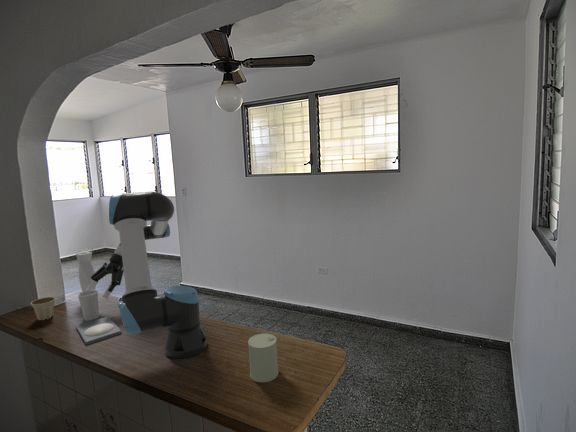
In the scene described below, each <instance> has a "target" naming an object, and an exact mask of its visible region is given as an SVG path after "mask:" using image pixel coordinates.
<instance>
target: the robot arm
mask: <svg viewBox="0 0 576 432" xmlns="http://www.w3.org/2000/svg"><path fill="white" fill-rule="evenodd" d="M174 213H175V207H174V203H173V201H172V200H171V199H170V198H169V197H167V195H164V194H163V193H161V192H158V191H157V192H156V191H142V192H128V193H124V192H122V193H117V194H112V195H111V196H110V198H109V203H108V222H109V225H112V226H113V228H114V230H116V231H118V234H119V235H118V236H119V244H118V246H117V247H116V249H115V250H114V251H113V252H114V253H113V254H112V255H111V256H110V257H109V263H107V262H103V263H104V264H103V265H102V266H101V267H100V268H99V269H98V270H97V271H96V272H95V274H93V275H92V276H91V279H92V281H91V283H90V284H89V286H88V288H87V289H86V291H88V290H93V289H94V288H95V286H97V285H98V283H99V281H100V280H101V279H103V278H104V277H106V276H107V275H111V282H110V283H109V284H108V285H107V287H106V289H105V290H104V292H103V293H102V294H101V297H102V298H104V299H106V300H107V299H109V297H110V295H111V294H112V292H113V291H114V289H115V288H116V287H118V286H120V285H121V283H122V280H123V279H122V278H123V276H124V287H125V292H124V293H123V295H122V296H121V300H122V301H120V302H118V304H117V306H118V310H119V313H120V316H121V321H122V324H123V328H124V332H125V333H126V334H127V335H129V336H131V335H135V334H143V333H145V332H149V331H154V330H158V329H162V328H166V327H167V328H168V329H167V336H166V339H165V342H164V352H165V355H166V356H168V357H170V358H173V359H186V358H187V359H188V358H190V357H193V356H196V355H198V354H200V353H202V352H203V351H204V350H205V349H206V348H207V345H208V340H207V336H206V334H205V332H204V329H203V327H202V325H201V315H200V314H201V313H200V305H199V304H200V300H199V296H198V291H197V289H196V288H194V287H191V286H187V285H173V286H169V287H166V288H165V289H164V290H163V293H161V294H158V291H157V289H156V288H155V287H153V286H152V279H151V272H150V267H149V259H148V252H147V244H146V241H147V240H155V239H164V238H168V237H170V236H171V230H170V229H171V228H170V224H169V221H170V220H171V219H172V217H173V215H174ZM148 221H150V224H147V222H148ZM95 289H96V288H95Z"/></svg>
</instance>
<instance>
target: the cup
mask: <svg viewBox="0 0 576 432" xmlns="http://www.w3.org/2000/svg"><path fill="white" fill-rule="evenodd" d="M98 291H99V290H98V289H95V290H88V291H84V292H82V291H81V292H79V293H78V294H77V296H78V300H79V305H80V308H81V312H82V318H83V320H84V321H94V320H97V318H98V319H99V317H100V310H99V292H98Z"/></svg>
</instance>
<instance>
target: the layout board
mask: <svg viewBox="0 0 576 432" xmlns="http://www.w3.org/2000/svg"><path fill="white" fill-rule="evenodd" d="M75 328H76V331H77V332H78V334H79V336H80V337H81V338H82V340H83V342H84V344H85V345H86V346H87V345H91V344H93V343H94V344H95V343H96V342H100V341H102V340H105V339H108V338H111V337H115V336H118V335H121V334H122V330H121V328H119V327H118V325H117V324H116V323H115V322H114V321H113V320H112V319H111V318H110V316H109V315H108V316H105V317H102V318H98V319H93V320H90V321H88V322H85V323H81V324H78V325H75Z"/></svg>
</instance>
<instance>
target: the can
mask: <svg viewBox="0 0 576 432" xmlns="http://www.w3.org/2000/svg"><path fill="white" fill-rule="evenodd" d="M277 341H278V339H277V337H276V336H275V335H273V334H271V333H258V334H255V335H253V336H251V337H250V338H249V339H248V341H247V345H248V356H249V377H250V379H251V380H253V381H254V382H257V383H268V382H271V381H273V380H275V379H276V378H277V377H278V376H279V372H280V371H279V366H278V349H277V347H278V345H277Z"/></svg>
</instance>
